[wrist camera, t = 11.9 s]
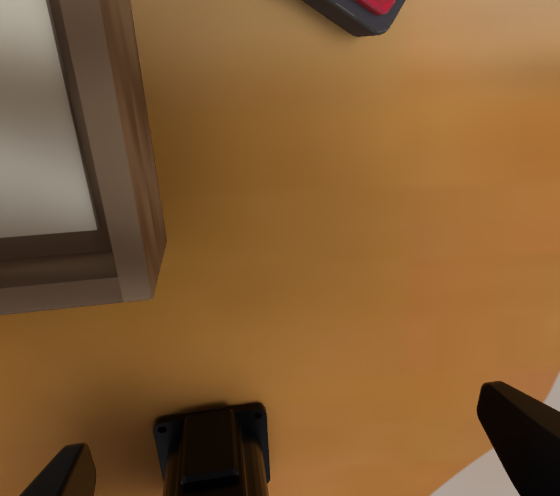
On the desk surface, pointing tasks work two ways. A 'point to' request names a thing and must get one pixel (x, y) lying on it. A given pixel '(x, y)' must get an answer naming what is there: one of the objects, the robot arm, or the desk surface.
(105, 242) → the base
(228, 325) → the desk surface
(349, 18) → the calculator
